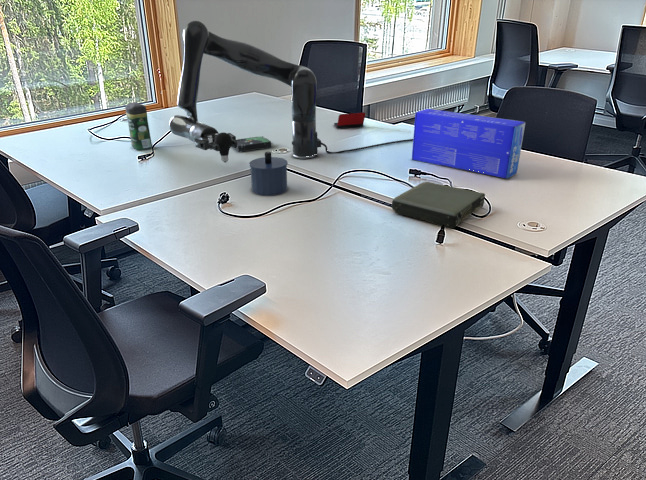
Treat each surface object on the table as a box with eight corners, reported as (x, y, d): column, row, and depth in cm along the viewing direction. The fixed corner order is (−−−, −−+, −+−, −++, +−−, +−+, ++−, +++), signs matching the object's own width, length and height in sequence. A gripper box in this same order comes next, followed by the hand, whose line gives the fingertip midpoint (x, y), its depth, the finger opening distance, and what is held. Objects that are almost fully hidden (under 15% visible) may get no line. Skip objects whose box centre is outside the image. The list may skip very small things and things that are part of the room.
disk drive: (238, 153, 241) (271, 147, 245) (238, 146, 239) (271, 140, 244) (230, 146, 249) (262, 141, 254) (230, 140, 247) (262, 135, 252)
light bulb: (236, 160, 198) (234, 130, 193) (229, 165, 193) (227, 135, 188) (220, 159, 199) (218, 129, 194) (213, 164, 195) (210, 134, 190)
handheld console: (359, 123, 277) (359, 107, 273) (365, 128, 268) (366, 112, 264) (333, 125, 275) (333, 109, 271) (338, 130, 266) (339, 114, 262)
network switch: (462, 232, 166) (465, 215, 163) (386, 217, 177) (387, 201, 174) (486, 205, 183) (488, 190, 180) (415, 193, 194) (416, 178, 191)
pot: (282, 182, 207) (281, 157, 203) (290, 193, 197) (290, 167, 193) (249, 185, 205) (247, 160, 200) (256, 197, 195) (254, 171, 190)
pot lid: (282, 158, 203) (282, 145, 201) (291, 169, 193) (291, 155, 190) (246, 162, 201) (245, 149, 199) (253, 173, 190) (252, 159, 188)
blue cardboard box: (517, 174, 207) (526, 121, 198) (507, 180, 202) (515, 126, 192) (422, 154, 230) (426, 107, 221) (410, 160, 225) (414, 111, 216)
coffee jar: (129, 146, 254) (122, 102, 244) (146, 143, 257) (140, 100, 248) (136, 151, 246) (129, 106, 237) (154, 148, 250) (147, 103, 240)
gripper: (184, 128, 198) (206, 138, 186) (221, 121, 205) (245, 131, 193) (186, 150, 202) (208, 161, 190) (223, 142, 209) (246, 153, 197)
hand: (227, 146), depth 191 cm, fingers closed on light bulb, 6 cm apart
